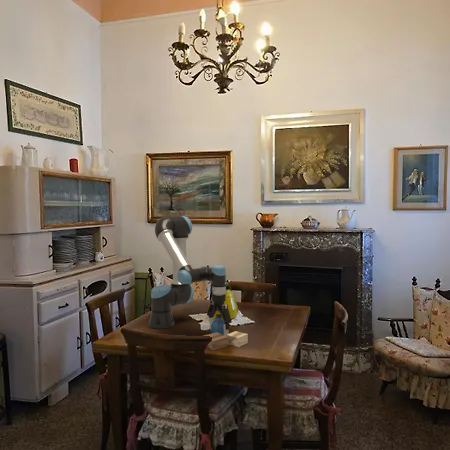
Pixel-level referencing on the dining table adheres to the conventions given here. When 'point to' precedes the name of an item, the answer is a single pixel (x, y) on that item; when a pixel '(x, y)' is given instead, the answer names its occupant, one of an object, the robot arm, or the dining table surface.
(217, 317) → the blue carton
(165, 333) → the dining table surface
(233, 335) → the beech block
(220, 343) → the walnut block
